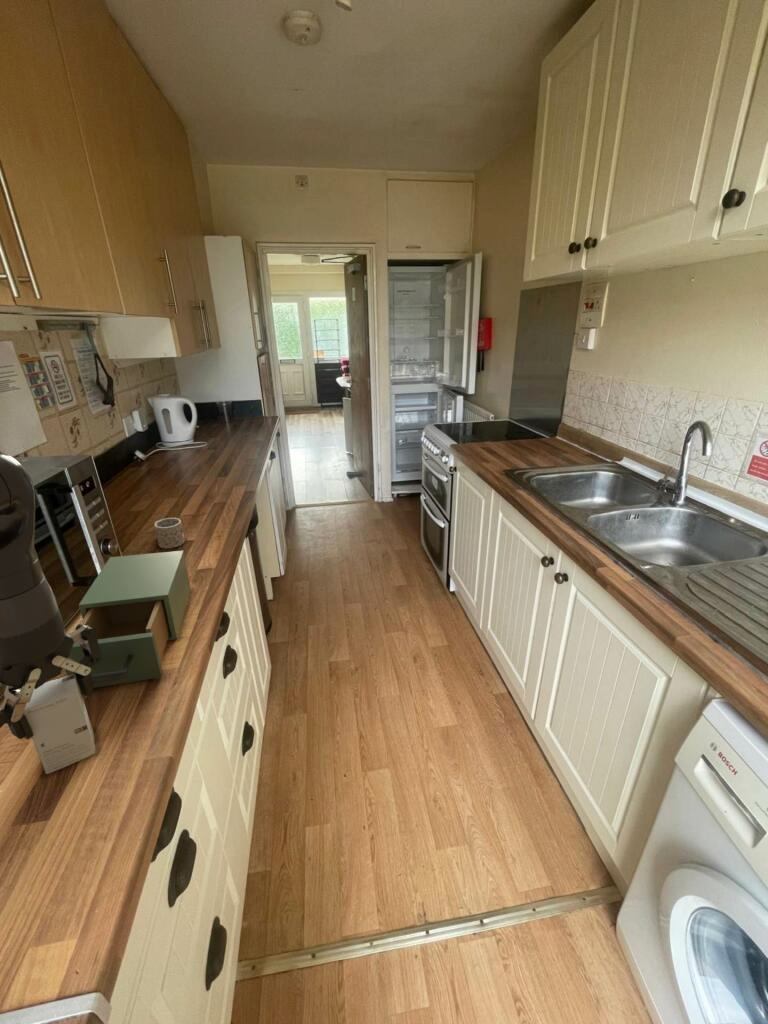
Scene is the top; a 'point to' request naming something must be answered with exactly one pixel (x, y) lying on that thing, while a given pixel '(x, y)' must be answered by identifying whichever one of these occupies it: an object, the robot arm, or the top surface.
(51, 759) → the cosmetic box
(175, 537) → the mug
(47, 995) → the top surface
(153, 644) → the drawer
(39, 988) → the top surface
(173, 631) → the cabinet
